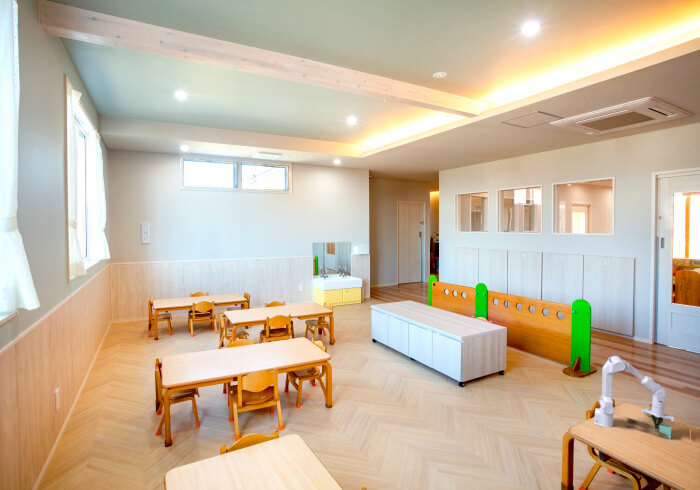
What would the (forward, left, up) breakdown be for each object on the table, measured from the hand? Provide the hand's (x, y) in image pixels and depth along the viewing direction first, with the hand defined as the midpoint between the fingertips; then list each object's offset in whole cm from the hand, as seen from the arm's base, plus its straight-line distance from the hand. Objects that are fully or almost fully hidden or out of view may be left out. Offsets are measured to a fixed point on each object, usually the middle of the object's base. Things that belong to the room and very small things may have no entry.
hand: (656, 428), depth 216 cm
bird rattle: (-2, +18, -4) cm, 19 cm away
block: (+4, 0, -3) cm, 5 cm away
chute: (-5, 0, -4) cm, 6 cm away
